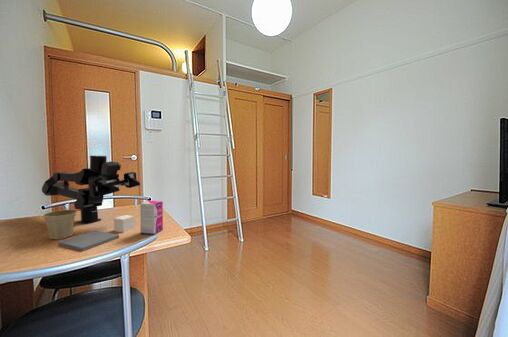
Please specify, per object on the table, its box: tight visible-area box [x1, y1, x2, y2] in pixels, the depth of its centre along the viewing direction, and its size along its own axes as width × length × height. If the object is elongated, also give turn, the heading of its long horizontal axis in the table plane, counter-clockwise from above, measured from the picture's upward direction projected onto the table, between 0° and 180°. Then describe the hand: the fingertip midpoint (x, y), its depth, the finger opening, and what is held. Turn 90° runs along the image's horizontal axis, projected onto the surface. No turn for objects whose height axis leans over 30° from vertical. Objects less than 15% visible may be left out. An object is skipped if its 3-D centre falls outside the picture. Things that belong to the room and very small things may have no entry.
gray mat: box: [58, 230, 120, 252], centre depth 79 cm, size 12×12×1 cm
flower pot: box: [41, 209, 78, 241], centre depth 83 cm, size 9×9×9 cm
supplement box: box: [139, 200, 164, 236], centre depth 88 cm, size 6×6×12 cm
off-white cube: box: [113, 214, 136, 233], centre depth 91 cm, size 5×5×5 cm
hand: (129, 186), depth 91 cm, fingers open, 9 cm apart
